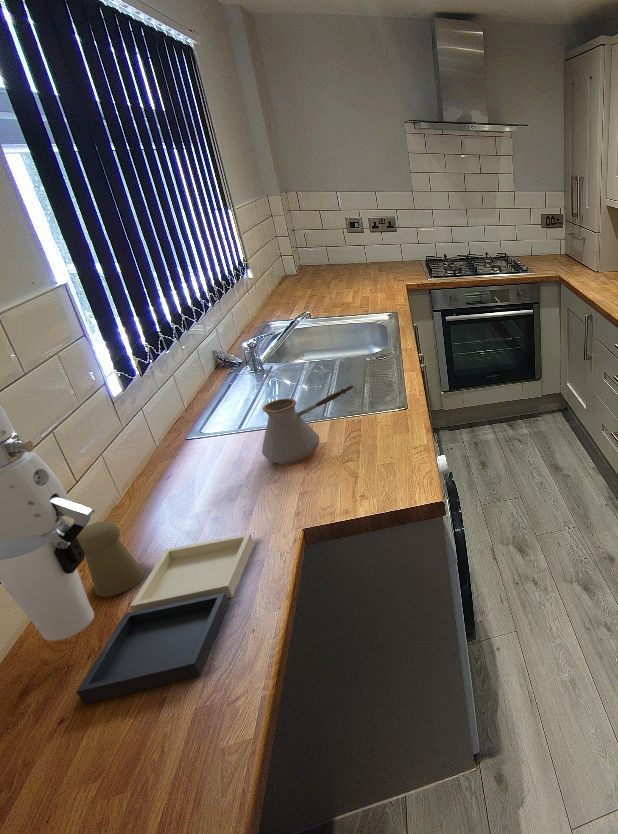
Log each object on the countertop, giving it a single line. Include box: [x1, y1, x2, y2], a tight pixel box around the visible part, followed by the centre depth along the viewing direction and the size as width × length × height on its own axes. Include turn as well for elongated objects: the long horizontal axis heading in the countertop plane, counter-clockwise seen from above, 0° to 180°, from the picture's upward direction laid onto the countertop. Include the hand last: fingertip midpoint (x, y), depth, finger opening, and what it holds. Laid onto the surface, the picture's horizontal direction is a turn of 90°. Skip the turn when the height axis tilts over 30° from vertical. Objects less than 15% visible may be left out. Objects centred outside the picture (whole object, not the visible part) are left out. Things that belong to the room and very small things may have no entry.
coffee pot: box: [261, 385, 358, 465], centre depth 117 cm, size 21×12×15 cm, turn 110°
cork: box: [77, 520, 145, 598], centre depth 82 cm, size 6×6×11 cm
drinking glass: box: [0, 529, 95, 642], centre depth 70 cm, size 7×7×15 cm
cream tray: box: [129, 533, 255, 612], centre depth 85 cm, size 13×13×2 cm
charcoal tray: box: [76, 593, 230, 705], centre depth 72 cm, size 13×13×2 cm
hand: (39, 571), depth 69 cm, fingers closed on drinking glass, 6 cm apart
